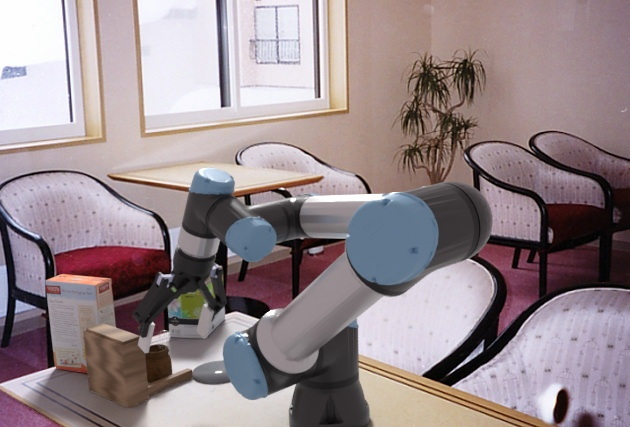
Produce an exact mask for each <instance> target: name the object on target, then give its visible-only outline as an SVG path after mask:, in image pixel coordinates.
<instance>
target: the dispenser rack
mask: <svg viewBox="0 0 630 427" xmlns="http://www.w3.org/2000/svg"><path fill="white" fill-rule="evenodd" d="M83 334H84V344H85V353H86V363H87V372H88V373H87V380H88V389H89V392H90V391H91V392H92V393H95V394H97V395H99V396H102V397H103V398H106V399H108V400H109V401H112V402H114V403H117V404H118V405H121V406H123V407H126V408H128V409H130V408H132V407H135V406H138V405H139V404H142V403H144V402H147V401H149V400H150V396H152V395H154V394H157V393H159V392H161V391H163V390H166V389H168V388H171V387H173V386H176V385H179V384H181V383H183V382H186V381H188V380H190V379H194V378H193V374H192V372H193V369H192V368H189V367H187V368H185V369H182V370H180V371H178V372H177V371H176V372H174V373H172V375H169V376H167V377H164V378H162V379H159V380H157V381H154V382H152V383H148V381H147V370H146V358H145V353H144V352H143V351H142V349H141V348H140V347H139V346H138V342H139V337H140V335H139V334H135V333H132V332H130V331H127V330H124V329H122V328H119V327H118V328H117V326H116V327H113V326H110V325H107V324H104V323H102V324H98V325H95V326H92V327H89V328H86V331H83Z"/></svg>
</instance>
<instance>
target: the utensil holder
mask: <svg viewBox="0 0 630 427" xmlns="http://www.w3.org/2000/svg"><path fill="white" fill-rule="evenodd" d="M137 329H138V330H139V327H137ZM162 332H163V337H164V338H165V336H166V335H169V330H166V329H165V330H164V329H162V330H160V332H158V336H157V337H159V338H161V334H162ZM165 333H166V334H165ZM161 342H162V344H161V343H156V344H150V348H149V353H145V358H146V370H147V381H148V384H149V383H152V382H154V381H157V380H159V379H162V378H164V377H167V376H169V375H172V374H173V365H172V364H173V363H172V357H171V355H170V349H169V346H168V344H164V343H165V342H164V339H163V338H162V341H161ZM166 343H170V340H169V339H166Z"/></svg>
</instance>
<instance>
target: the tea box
mask: <svg viewBox="0 0 630 427" xmlns="http://www.w3.org/2000/svg"><path fill="white" fill-rule="evenodd" d="M218 266H219V267H221V268H222V269H223V266H222V265H218ZM223 270H224V269H223ZM222 281H223V282H224V273H223V274H222ZM205 284H206V286H207V287H208V290H209V291H210V293H211V294H212V296H213V297H214V298H215V295H214V291H213V286H212V282H211V278H210V276H209V277H208V279H207V280H206V281H205ZM171 289H172V290H173V291H174V292H176V290H175V288H174V287H172V288H171ZM203 304H207V305H208V303H207V301H206V300H205V299H204V297H203V296H202V294H201V293H200V291H199V290H196V292H193V293H191V292H189V293H187V294H183V295H182V294H181V295H180V297H179V298H177V299H174V300H173V301H172V302H171V303H170V304H169V305H168V306H167V312H168V313H167V314H168V316H167V317H168V333H169V334H168V337H169V338H177V339H179V338H181V339H183V338H184V339H203V338H202V337H201V336H200V335H199V334H198V332H197V331H196V330H197V326H198V323H199V319H200V315H201V311H202V308H203ZM225 306H226V305H225ZM225 306H223V305H221V306H220V307H221V311H220V312H216V313H215V317H214V320H213V322H211V324H210V328H209V332H208V335H207V337H208V336H209V335H210V334H212V332H214V331H215V329H216V328H217V327H218V326H220V325H221V323H222V322H224V320H225V319H226V308H225Z"/></svg>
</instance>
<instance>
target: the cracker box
mask: <svg viewBox="0 0 630 427" xmlns="http://www.w3.org/2000/svg"><path fill="white" fill-rule="evenodd" d="M44 284H45V290H46V300H47V307H48V318H49V325H50V335H51V343H52V351H53V352H52V353H53V362H54V368H55V367H56V368H55V370H64V371H70V372H78V373H83V374H88V372H87V363H86V353H85V344H84V334H83V331H86V328H89V327H92V326H95V325H98V324H102V323H104V324H107V325H110V326H113V327H116V328H117V325H116V316H115V305H114V296H113V284H112V278H110V277H109V278H108V277H97V276H85V275H75V274H65V273H62V274H59V275H56V276H53V277H50V278H48V279H46V280H45V283H44Z"/></svg>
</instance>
